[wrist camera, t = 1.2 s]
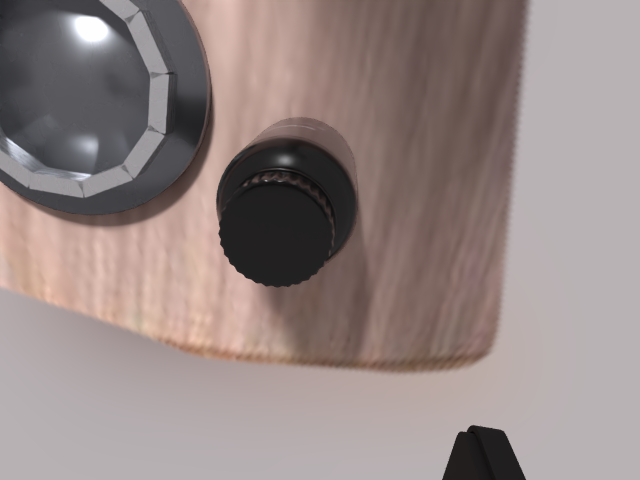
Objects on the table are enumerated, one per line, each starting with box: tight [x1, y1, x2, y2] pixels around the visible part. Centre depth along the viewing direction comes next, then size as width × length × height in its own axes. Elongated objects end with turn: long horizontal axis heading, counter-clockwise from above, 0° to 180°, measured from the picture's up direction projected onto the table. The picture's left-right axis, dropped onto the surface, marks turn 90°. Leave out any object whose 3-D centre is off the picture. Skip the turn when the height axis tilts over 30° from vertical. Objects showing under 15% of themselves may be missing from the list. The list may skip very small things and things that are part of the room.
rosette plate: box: [0, 0, 211, 215], centre depth 28 cm, size 16×16×3 cm
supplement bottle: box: [216, 117, 358, 287], centre depth 26 cm, size 7×7×12 cm
